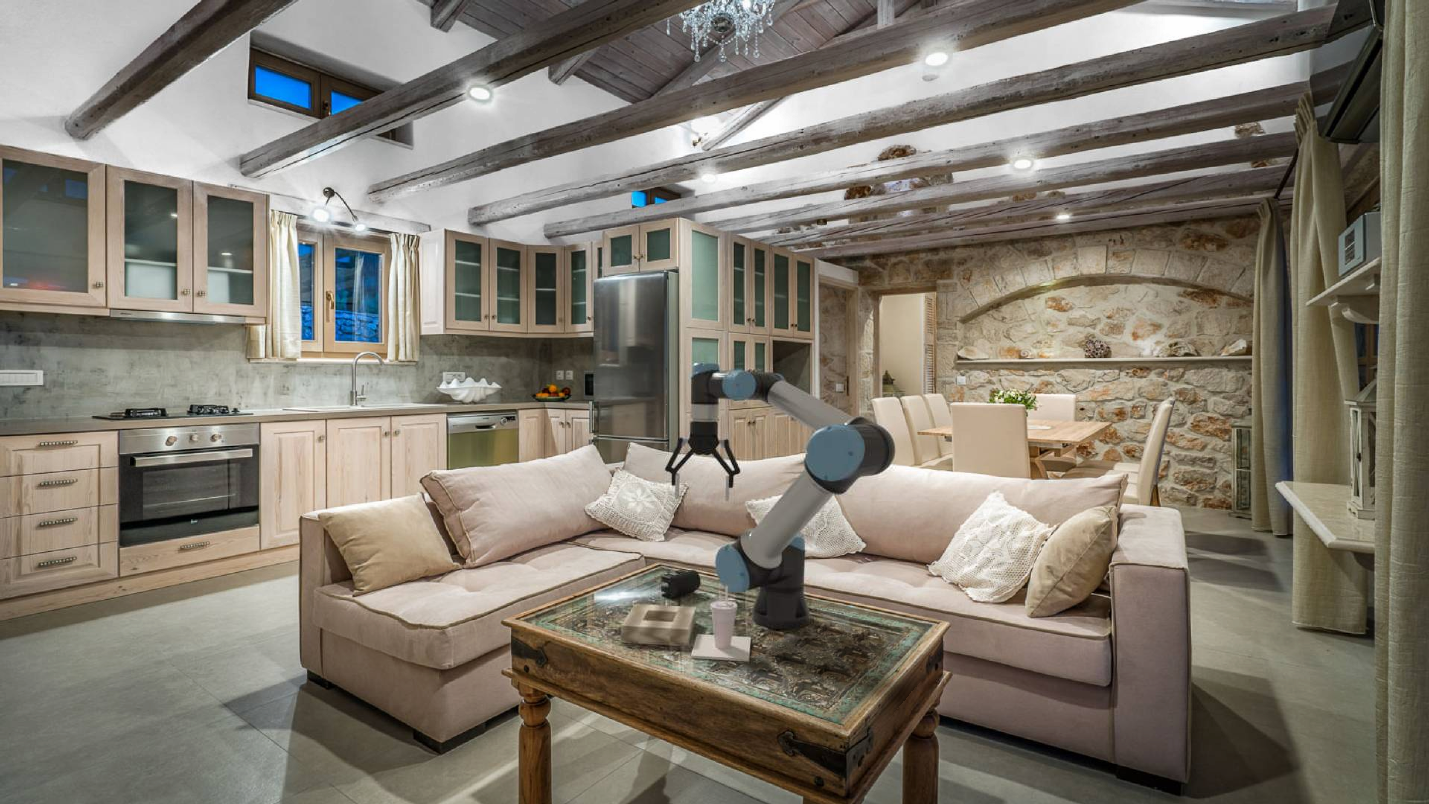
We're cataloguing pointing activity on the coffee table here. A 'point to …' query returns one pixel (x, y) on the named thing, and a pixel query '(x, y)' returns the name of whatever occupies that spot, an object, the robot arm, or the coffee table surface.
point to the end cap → (680, 583)
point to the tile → (707, 649)
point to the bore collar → (659, 625)
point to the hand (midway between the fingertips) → (702, 499)
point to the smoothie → (723, 621)
